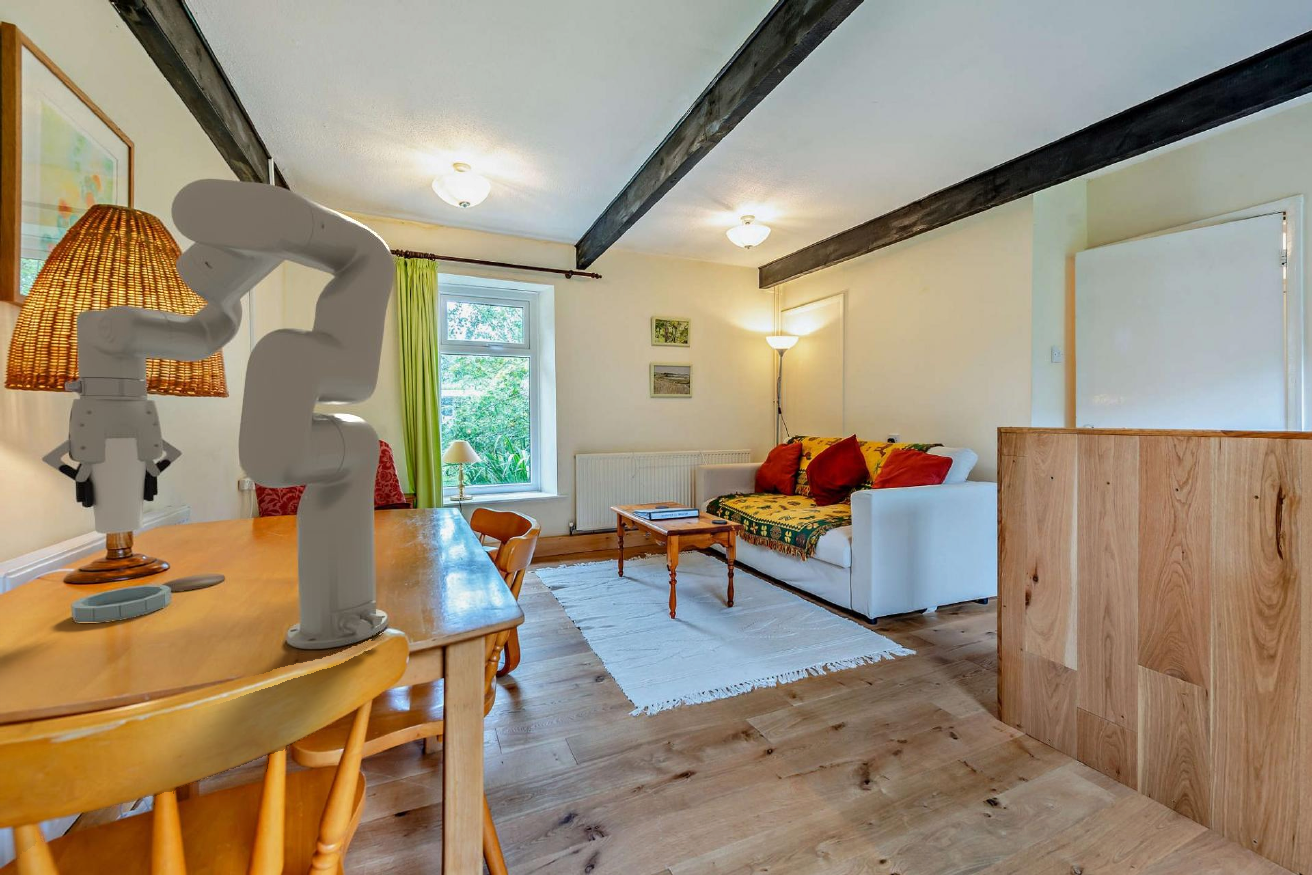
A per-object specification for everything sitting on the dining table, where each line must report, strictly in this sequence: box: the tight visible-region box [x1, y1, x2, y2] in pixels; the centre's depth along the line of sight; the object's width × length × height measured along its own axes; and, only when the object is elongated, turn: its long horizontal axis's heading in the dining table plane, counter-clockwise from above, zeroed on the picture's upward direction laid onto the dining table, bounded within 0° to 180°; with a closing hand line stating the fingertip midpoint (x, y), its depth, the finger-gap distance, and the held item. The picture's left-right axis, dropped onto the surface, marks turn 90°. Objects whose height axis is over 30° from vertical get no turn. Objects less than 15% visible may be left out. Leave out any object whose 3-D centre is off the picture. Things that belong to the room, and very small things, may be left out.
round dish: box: [70, 584, 172, 622], centre depth 85 cm, size 11×11×2 cm
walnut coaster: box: [161, 573, 226, 592], centre depth 99 cm, size 9×9×1 cm
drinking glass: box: [88, 438, 146, 535], centre depth 85 cm, size 7×7×15 cm
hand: (118, 502), depth 85 cm, fingers closed on drinking glass, 6 cm apart
